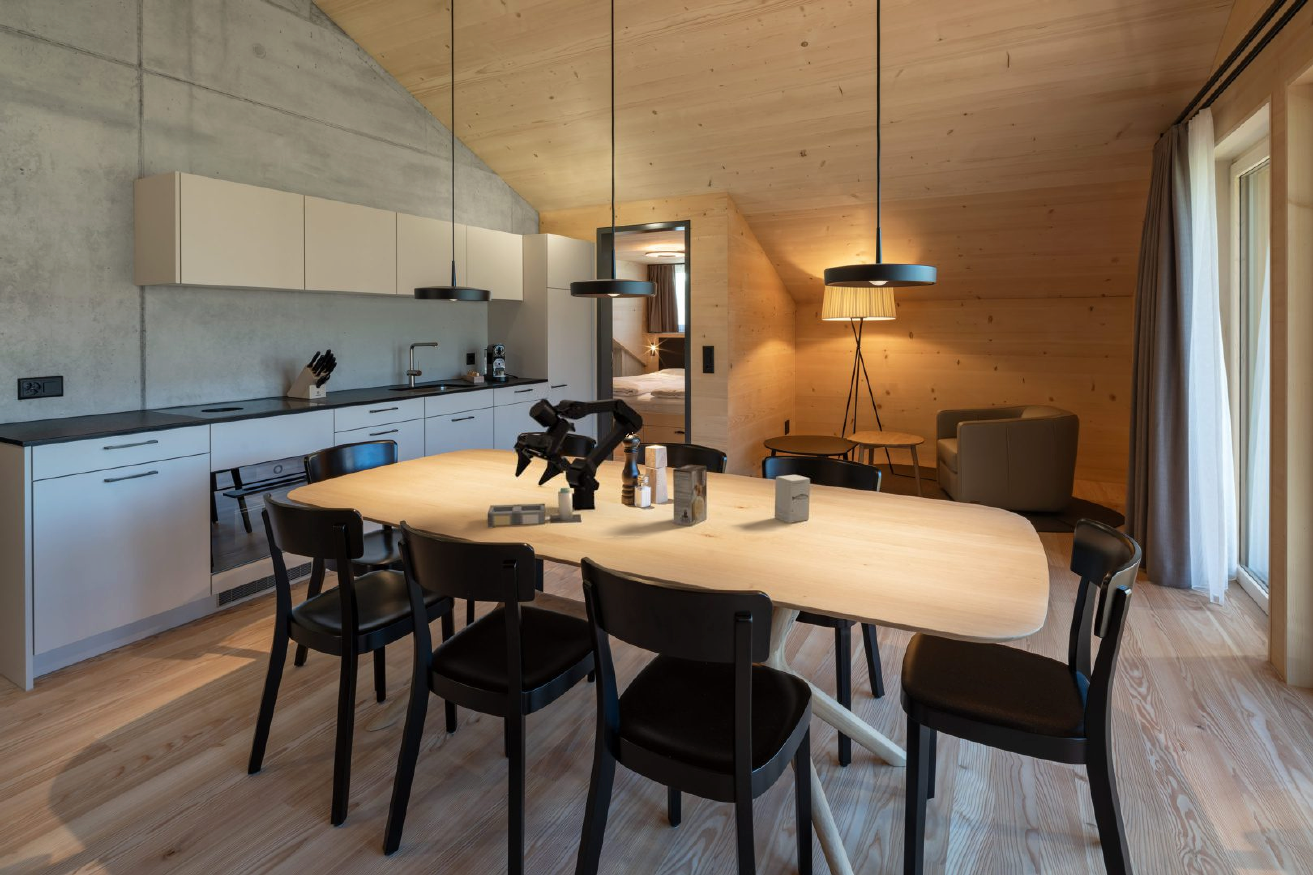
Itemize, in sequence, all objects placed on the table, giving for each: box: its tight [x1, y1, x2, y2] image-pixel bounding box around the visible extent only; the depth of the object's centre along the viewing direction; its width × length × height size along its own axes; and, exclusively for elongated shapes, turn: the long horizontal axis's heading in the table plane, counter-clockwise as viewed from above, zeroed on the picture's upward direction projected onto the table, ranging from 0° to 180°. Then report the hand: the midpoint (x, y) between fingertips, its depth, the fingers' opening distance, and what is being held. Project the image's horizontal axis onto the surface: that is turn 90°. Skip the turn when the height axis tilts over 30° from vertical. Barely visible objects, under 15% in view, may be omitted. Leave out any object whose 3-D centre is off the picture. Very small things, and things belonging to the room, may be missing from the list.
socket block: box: [486, 503, 546, 529], centre depth 215 cm, size 16×10×4 cm, turn 98°
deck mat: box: [549, 513, 582, 524], centre depth 217 cm, size 9×9×1 cm
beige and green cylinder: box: [557, 487, 573, 520], centre depth 216 cm, size 4×4×9 cm
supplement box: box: [774, 474, 811, 524], centre depth 216 cm, size 7×7×13 cm
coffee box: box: [672, 464, 708, 527], centre depth 214 cm, size 9×6×16 cm
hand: (527, 480), depth 214 cm, fingers open, 9 cm apart
